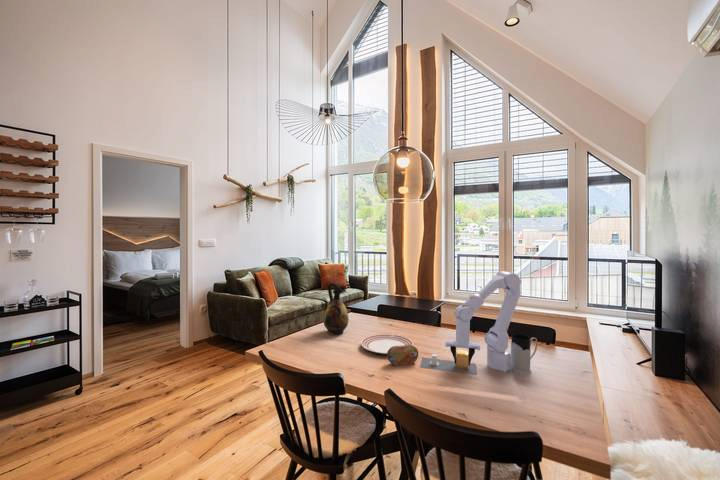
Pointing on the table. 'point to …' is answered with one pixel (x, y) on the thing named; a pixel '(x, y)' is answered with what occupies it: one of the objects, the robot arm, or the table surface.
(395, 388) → the table surface
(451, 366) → the mat
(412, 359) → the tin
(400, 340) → the dinner plate
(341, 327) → the ceramic jug
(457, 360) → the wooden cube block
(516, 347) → the grey mug
